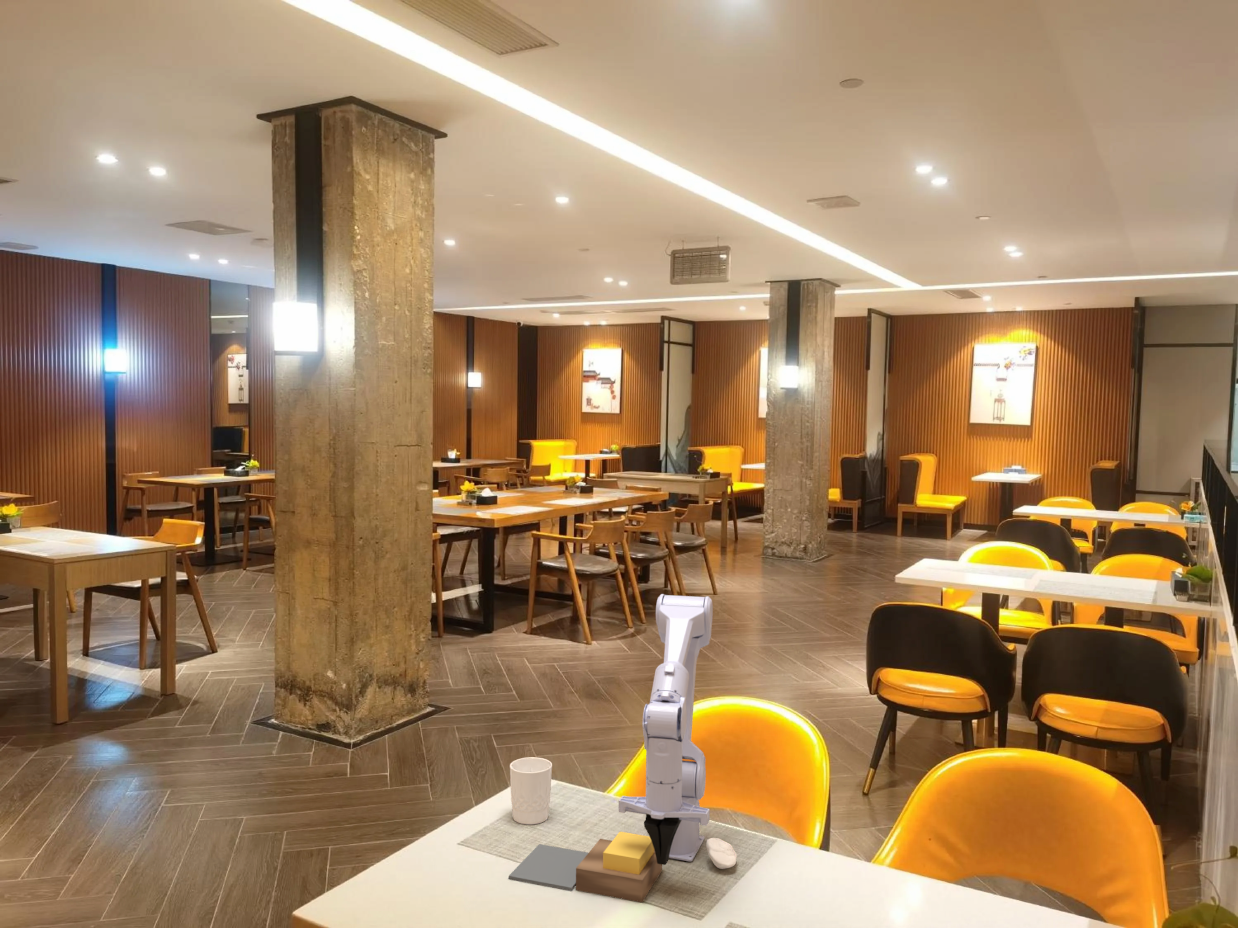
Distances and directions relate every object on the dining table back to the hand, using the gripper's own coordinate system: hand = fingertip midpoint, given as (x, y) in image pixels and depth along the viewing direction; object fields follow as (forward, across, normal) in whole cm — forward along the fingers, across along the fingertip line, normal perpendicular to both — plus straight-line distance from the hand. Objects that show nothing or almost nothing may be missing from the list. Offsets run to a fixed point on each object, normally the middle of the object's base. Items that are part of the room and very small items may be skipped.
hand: (662, 861), depth 142 cm
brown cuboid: (+4, -7, 0) cm, 8 cm away
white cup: (+4, -31, +17) cm, 35 cm away
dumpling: (+4, +7, +10) cm, 14 cm away
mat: (+4, -19, 0) cm, 19 cm away
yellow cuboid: (0, -6, 0) cm, 6 cm away
